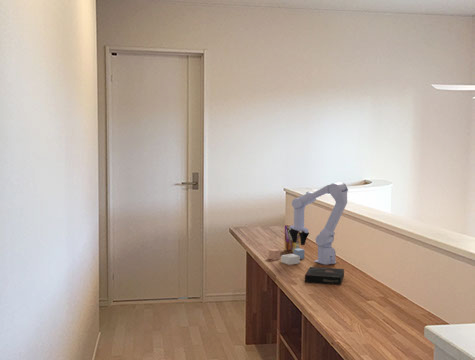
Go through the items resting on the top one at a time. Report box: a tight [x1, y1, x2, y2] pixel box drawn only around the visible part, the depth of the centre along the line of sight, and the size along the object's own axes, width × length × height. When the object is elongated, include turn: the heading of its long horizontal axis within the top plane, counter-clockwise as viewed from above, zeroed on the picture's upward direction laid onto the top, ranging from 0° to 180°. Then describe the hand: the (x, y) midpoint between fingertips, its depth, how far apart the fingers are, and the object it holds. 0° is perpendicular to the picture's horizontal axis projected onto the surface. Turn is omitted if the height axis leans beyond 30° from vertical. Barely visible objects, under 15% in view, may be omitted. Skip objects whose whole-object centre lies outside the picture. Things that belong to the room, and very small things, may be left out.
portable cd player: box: [304, 266, 345, 286], centre depth 268 cm, size 16×17×4 cm
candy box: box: [284, 224, 301, 253], centre depth 330 cm, size 9×4×15 cm, turn 39°
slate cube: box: [292, 247, 305, 260], centre depth 312 cm, size 4×4×5 cm
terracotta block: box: [268, 248, 281, 261], centre depth 311 cm, size 4×4×5 cm
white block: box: [280, 253, 301, 266], centre depth 302 cm, size 7×7×4 cm
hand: (298, 243), depth 311 cm, fingers open, 7 cm apart
